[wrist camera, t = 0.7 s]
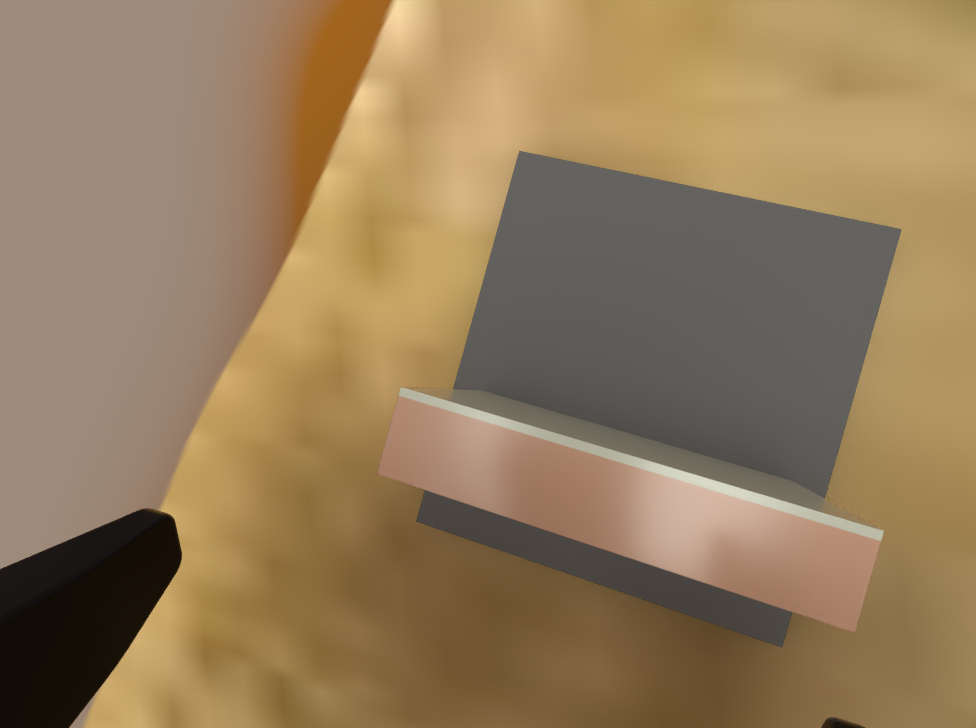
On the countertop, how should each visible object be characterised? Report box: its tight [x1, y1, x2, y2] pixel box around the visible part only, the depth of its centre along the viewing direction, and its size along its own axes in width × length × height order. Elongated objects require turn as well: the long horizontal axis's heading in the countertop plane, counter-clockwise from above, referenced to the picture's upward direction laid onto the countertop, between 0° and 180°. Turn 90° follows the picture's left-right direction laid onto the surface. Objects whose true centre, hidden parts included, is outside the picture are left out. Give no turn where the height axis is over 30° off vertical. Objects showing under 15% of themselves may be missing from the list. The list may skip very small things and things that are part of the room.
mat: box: [417, 151, 901, 647], centre depth 22 cm, size 13×12×1 cm
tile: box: [377, 387, 884, 633], centre depth 18 cm, size 2×10×8 cm, turn 74°
